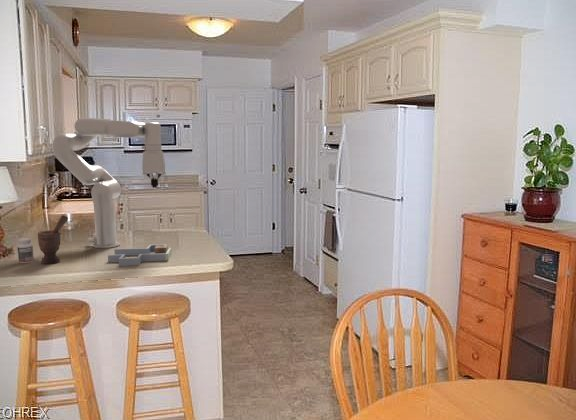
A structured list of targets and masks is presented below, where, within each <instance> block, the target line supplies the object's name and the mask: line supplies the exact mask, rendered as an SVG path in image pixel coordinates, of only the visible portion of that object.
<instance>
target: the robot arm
mask: <svg viewBox="0 0 576 420" xmlns="http://www.w3.org/2000/svg"><path fill="white" fill-rule="evenodd" d="M161 128H162V127H161V123H160V122H157V121H156V122H153V121H151V122H150V121H149V122H148V121H147V122H140V121H131V120H130V121H129V120H128V121H126V120H112V119H109V118H95V117H92V118H91V117H80V118H78V119H76V121H75V122H74V131H75V132H73V133H72V132H63V133H60V134H57V135H56V136H55V137H54V138H53V141H52V151H53V152H52V153H53V155H54V157H55V158H56V159H57V160H58V161H59V163H61V164H62V165H63V166H64V167H65V168H66V169H67V170H68V171H69V172H70V173H71V175H73V176H74V177H75V178H76V179H77V180H78V181H79V182H80V183H81V184H82V185H86V186H92V185H93V186H92V189H91V190H90V191H91V192H90V193H91V199H92V205H93V211H94V213H93V214H94V227H95V228H94V232H95V237H87V238H86V243H92V247H93V248H95V249H109V248H116V247H119V246H120V245H121V243H120V241H117V224H116V223H117V222H116V208H115V203H114V199H117V198H119V196H120V195H121V194H122V187H121V185H120V183H119V182H118V181H117V180H116V178H114V176H112V175H111V174H110V172H108V171H107V169H105V168H103V167H102V166H100V165H98V164H89V163H88V162H87V161H85V159H83V157H82V156H80V154H77V153H76V152H75V151H80V150H83V149H84V148H85V147H86V146H87V145H88V144H90V143H91V142H92V141H93V140H94V139H95V138H96V137H98V138H99V137H100V138H101V137H103V138H112V137H113V138H125V139H143V138H144V145H143V146H141V149H142V150H144V151H143V152H142V161H141V162H142V163H141V164H142V168H141V169H142V175H143V176H146V177H148V178H149V179H150V186H152V187H151V188H157V187H158V186H159V178H161V176H165V175H166V162H165V156H164V151H162V133H161V132H162V131H161V130H162V129H161ZM154 174H155V175H154Z"/></svg>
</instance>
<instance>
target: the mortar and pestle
mask: <svg viewBox="0 0 576 420" xmlns="http://www.w3.org/2000/svg"><path fill="white" fill-rule="evenodd" d="M68 219H69V217H68V216H67V215H64V214H63V215H61V216H60V218H59V219H58V221H57V223H56V226H55V227H54V228H53V229H52V230H51V229H50V230H42V231H38V232H37V241H38V243H37V244H38V247H39V249H40V251H41V252H42V253H43V257H42V258H41V260H40V264H42V265H43V264H44V265H50V264H56V263H59V262H61V260H60V257H59V256H58V255H57V252H58V251H59V249H60V245H61V231H60V230H61V229H62V228H63V226H64V225H65V224H66V223H67V221H68Z"/></svg>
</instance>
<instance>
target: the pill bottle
mask: <svg viewBox="0 0 576 420" xmlns="http://www.w3.org/2000/svg"><path fill="white" fill-rule="evenodd" d="M17 241H18V245H17V255H18V257H17V259H18V263H20V264H30V263H33V262H34V259H35V258H34V247H33V246H34V245H33V243H31V241H32V239H31V238H30V237H28V238H27V237H24V238H23V237H22V238H19V239H18V240H17Z"/></svg>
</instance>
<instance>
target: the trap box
mask: <svg viewBox="0 0 576 420" xmlns="http://www.w3.org/2000/svg"><path fill="white" fill-rule="evenodd" d="M165 245H168V244H148V245H147V247H134V248H133V247H132V248H130V247H129V248H114V254H108V255H107V261H108V263H118V267H129V266H134V267H135V266H140V265H141V264H142V262H164V261H165V262H168V261H169V260H170V257H171V256H172V253H173V251H172V247H170V246H169V247H168V250H167V252H166V253H162V254H155V247H156V246H165ZM125 255H126V256H136V257H126V256H125Z"/></svg>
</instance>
